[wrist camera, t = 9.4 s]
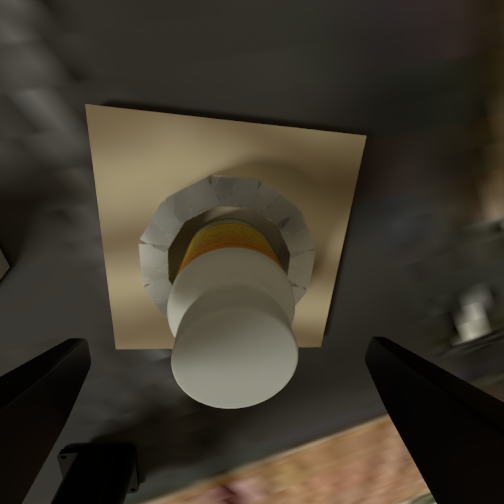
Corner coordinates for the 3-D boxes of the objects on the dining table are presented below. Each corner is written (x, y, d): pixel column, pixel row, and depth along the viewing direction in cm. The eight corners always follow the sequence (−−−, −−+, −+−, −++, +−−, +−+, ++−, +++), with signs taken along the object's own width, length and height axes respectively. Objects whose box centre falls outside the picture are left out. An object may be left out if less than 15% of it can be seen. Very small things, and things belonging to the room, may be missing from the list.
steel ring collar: (290, 316, 19) (300, 337, 17) (156, 315, 18) (145, 338, 15) (311, 182, 16) (327, 185, 13) (148, 168, 14) (133, 169, 12)
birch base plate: (316, 338, 21) (320, 346, 20) (121, 340, 19) (116, 349, 18) (358, 137, 16) (366, 135, 15) (94, 108, 14) (85, 104, 13)
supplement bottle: (176, 227, 16) (111, 316, 6) (258, 205, 16) (306, 263, 7) (203, 298, 17) (181, 443, 8) (275, 278, 18) (331, 400, 8)
